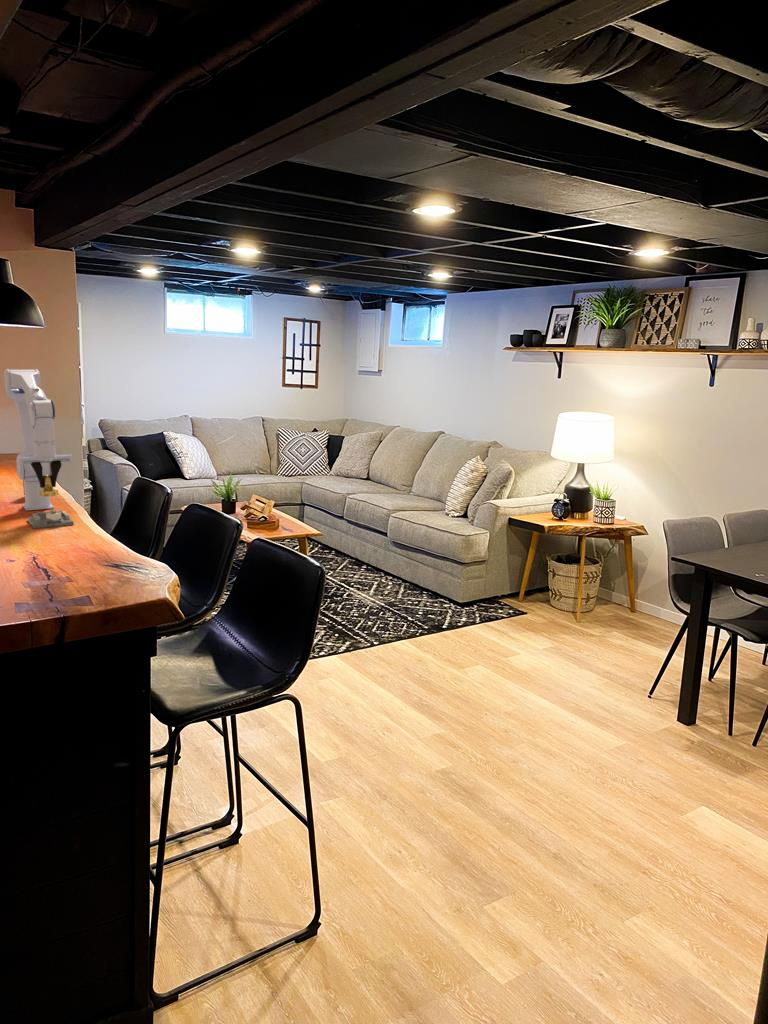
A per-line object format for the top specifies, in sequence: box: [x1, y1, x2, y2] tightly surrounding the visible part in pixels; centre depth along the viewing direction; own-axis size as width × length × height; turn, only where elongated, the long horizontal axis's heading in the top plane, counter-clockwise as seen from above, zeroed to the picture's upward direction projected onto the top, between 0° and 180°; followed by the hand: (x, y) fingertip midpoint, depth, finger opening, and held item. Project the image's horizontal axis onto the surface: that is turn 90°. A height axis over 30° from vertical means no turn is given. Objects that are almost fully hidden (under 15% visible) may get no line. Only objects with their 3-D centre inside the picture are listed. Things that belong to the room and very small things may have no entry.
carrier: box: [26, 510, 74, 530], centre depth 219 cm, size 12×10×4 cm
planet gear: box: [39, 475, 59, 497], centre depth 227 cm, size 5×5×6 cm
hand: (47, 486), depth 227 cm, fingers closed on planet gear, 3 cm apart
